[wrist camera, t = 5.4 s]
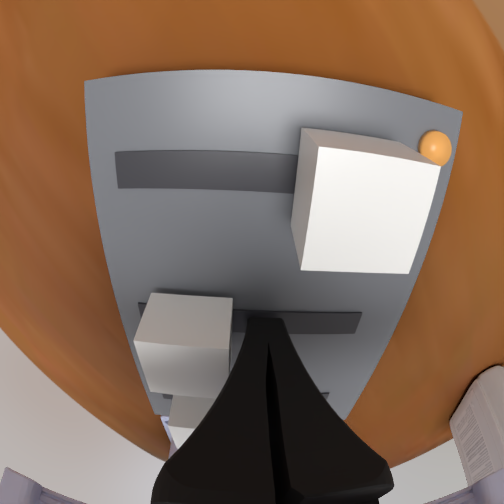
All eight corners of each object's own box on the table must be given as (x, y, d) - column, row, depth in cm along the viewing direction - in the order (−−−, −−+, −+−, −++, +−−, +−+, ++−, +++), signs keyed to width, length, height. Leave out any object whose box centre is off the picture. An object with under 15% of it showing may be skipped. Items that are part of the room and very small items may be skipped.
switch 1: (234, 416, 16) (233, 453, 14) (182, 412, 16) (176, 448, 14) (235, 389, 14) (233, 431, 12) (175, 384, 14) (167, 425, 12)
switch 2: (380, 230, 10) (408, 273, 8) (290, 224, 10) (300, 270, 7) (399, 142, 8) (440, 166, 6) (301, 127, 8) (318, 146, 6)
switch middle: (231, 351, 13) (228, 399, 11) (161, 346, 13) (150, 391, 11) (232, 297, 11) (228, 349, 9) (151, 292, 11) (133, 340, 9)
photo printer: (475, 411, 24) (505, 501, 13) (443, 425, 24) (470, 520, 14) (508, 356, 18) (559, 469, 8) (472, 373, 19) (519, 498, 9)
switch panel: (332, 408, 20) (337, 435, 18) (164, 403, 20) (159, 430, 18) (433, 103, 9) (468, 113, 7) (110, 78, 9) (79, 81, 7)
